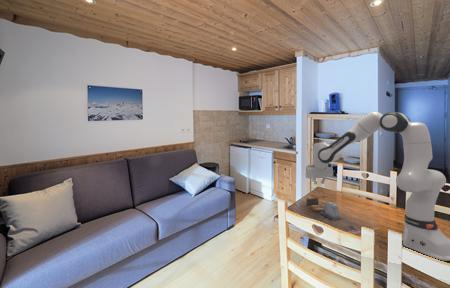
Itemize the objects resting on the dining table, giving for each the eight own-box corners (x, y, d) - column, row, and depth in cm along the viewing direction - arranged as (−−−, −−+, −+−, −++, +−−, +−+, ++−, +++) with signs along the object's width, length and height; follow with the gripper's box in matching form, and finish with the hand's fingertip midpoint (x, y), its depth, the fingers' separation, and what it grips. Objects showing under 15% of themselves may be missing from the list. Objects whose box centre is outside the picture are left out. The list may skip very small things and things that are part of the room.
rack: (327, 211, 155) (327, 202, 155) (316, 212, 153) (316, 204, 153) (317, 205, 167) (317, 197, 167) (306, 207, 165) (306, 198, 165)
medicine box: (338, 218, 143) (338, 205, 143) (332, 219, 142) (332, 205, 142) (330, 213, 151) (330, 201, 150) (324, 214, 150) (324, 202, 149)
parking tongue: (341, 219, 141) (341, 217, 141) (331, 220, 140) (331, 218, 140) (328, 212, 153) (328, 210, 153) (319, 213, 152) (319, 211, 151)
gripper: (308, 166, 150) (308, 185, 151) (334, 164, 155) (334, 183, 156) (303, 164, 157) (303, 183, 157) (328, 163, 161) (328, 181, 162)
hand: (319, 183), depth 157 cm, fingers open, 4 cm apart
